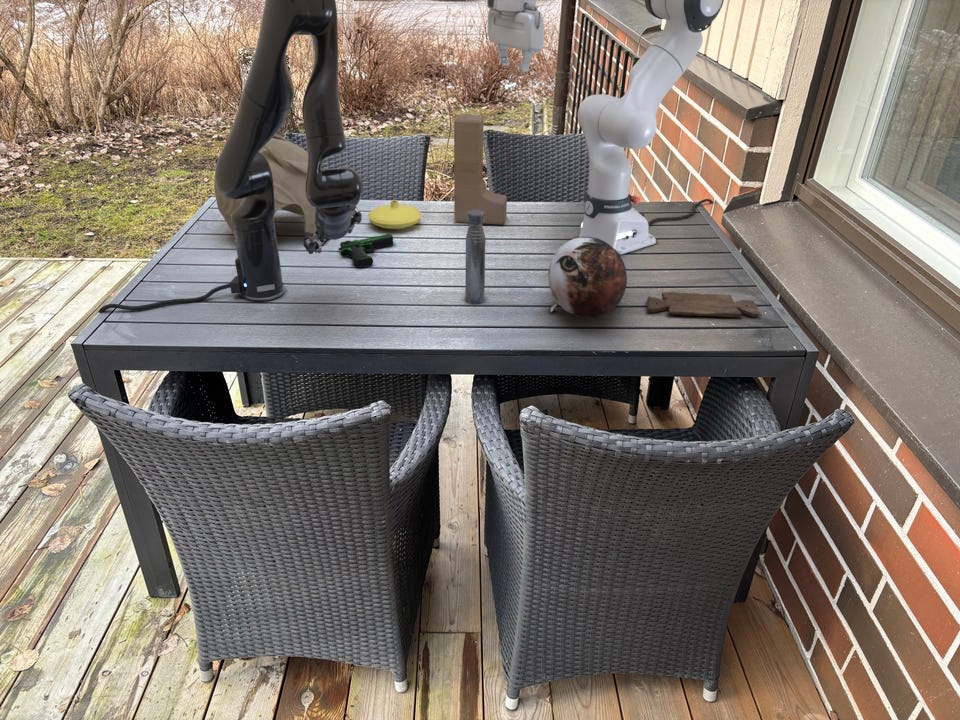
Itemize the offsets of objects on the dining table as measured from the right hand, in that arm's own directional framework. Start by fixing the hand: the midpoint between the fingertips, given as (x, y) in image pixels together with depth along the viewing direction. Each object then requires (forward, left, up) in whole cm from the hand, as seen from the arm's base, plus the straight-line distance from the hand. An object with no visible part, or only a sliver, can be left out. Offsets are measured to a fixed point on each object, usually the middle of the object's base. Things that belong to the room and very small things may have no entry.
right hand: (513, 68), depth 165 cm
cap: (+18, +17, -27) cm, 37 cm away
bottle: (+18, +17, -48) cm, 54 cm away
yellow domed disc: (+17, -38, -48) cm, 63 cm away
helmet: (+50, -46, -48) cm, 83 cm away
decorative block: (-8, -31, -48) cm, 58 cm away
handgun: (+31, -19, -48) cm, 60 cm away
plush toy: (-2, +34, -48) cm, 59 cm away
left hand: (+46, -2, -35) cm, 58 cm away
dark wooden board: (-28, +44, -48) cm, 71 cm away
